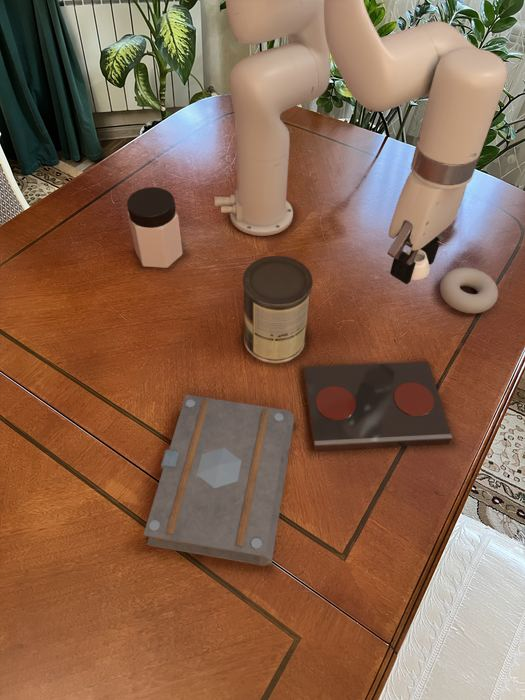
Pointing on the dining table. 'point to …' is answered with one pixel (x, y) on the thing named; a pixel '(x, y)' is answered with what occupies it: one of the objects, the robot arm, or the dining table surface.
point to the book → (222, 481)
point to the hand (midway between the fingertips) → (411, 267)
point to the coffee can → (276, 308)
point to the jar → (154, 227)
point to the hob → (374, 406)
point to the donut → (464, 300)
